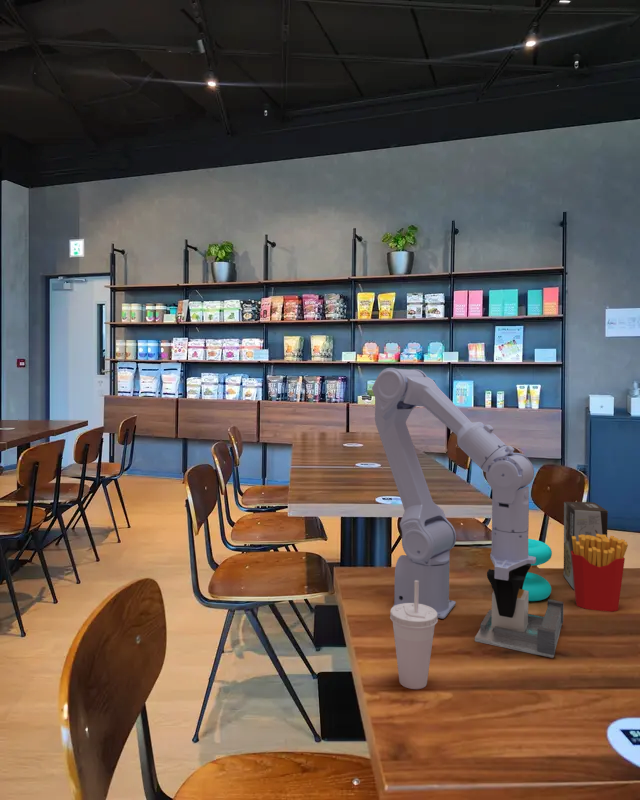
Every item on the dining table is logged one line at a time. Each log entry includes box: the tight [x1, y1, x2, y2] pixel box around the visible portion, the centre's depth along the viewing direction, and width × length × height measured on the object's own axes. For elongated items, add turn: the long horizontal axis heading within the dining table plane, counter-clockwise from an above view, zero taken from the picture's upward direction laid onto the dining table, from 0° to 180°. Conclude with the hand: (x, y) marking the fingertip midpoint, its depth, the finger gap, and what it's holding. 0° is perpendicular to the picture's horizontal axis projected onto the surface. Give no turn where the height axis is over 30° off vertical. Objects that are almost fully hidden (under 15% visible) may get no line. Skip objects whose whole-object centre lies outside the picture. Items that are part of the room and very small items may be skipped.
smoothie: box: [389, 580, 439, 690], centre depth 77 cm, size 6×6×14 cm
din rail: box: [474, 598, 565, 659], centre depth 92 cm, size 12×14×4 cm
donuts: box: [522, 538, 553, 602], centre depth 110 cm, size 10×10×10 cm
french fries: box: [571, 534, 629, 613], centre depth 103 cm, size 9×4×13 cm, turn 73°
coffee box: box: [563, 501, 609, 590], centre depth 115 cm, size 9×6×16 cm
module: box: [491, 589, 529, 632], centre depth 93 cm, size 5×4×6 cm
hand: (509, 610), depth 93 cm, fingers closed on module, 4 cm apart
